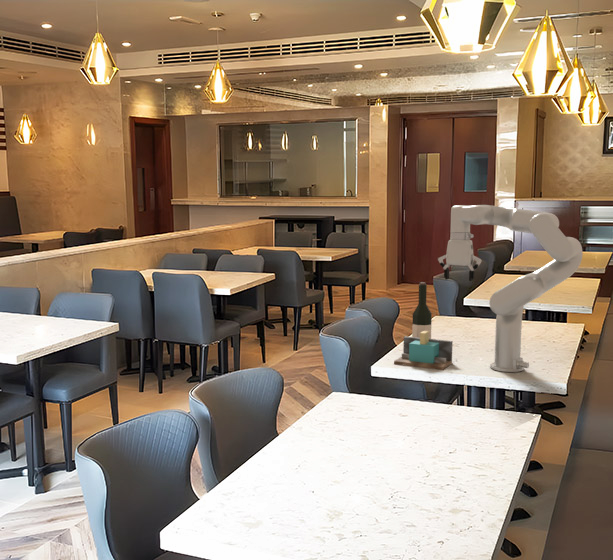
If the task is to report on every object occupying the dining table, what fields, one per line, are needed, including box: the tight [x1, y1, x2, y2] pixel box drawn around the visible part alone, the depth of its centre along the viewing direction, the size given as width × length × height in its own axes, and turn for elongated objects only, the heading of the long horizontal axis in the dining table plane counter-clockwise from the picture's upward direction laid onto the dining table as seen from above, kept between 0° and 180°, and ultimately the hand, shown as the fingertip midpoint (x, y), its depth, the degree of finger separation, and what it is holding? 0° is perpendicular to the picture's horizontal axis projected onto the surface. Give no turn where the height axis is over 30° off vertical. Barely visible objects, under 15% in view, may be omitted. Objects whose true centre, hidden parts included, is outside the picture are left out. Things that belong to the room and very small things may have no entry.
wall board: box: [393, 336, 454, 371], centre depth 281 cm, size 20×12×9 cm, turn 62°
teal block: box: [409, 331, 439, 364], centre depth 281 cm, size 10×7×12 cm
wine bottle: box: [411, 281, 433, 339], centre depth 299 cm, size 8×8×30 cm
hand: (458, 279), depth 280 cm, fingers open, 9 cm apart
